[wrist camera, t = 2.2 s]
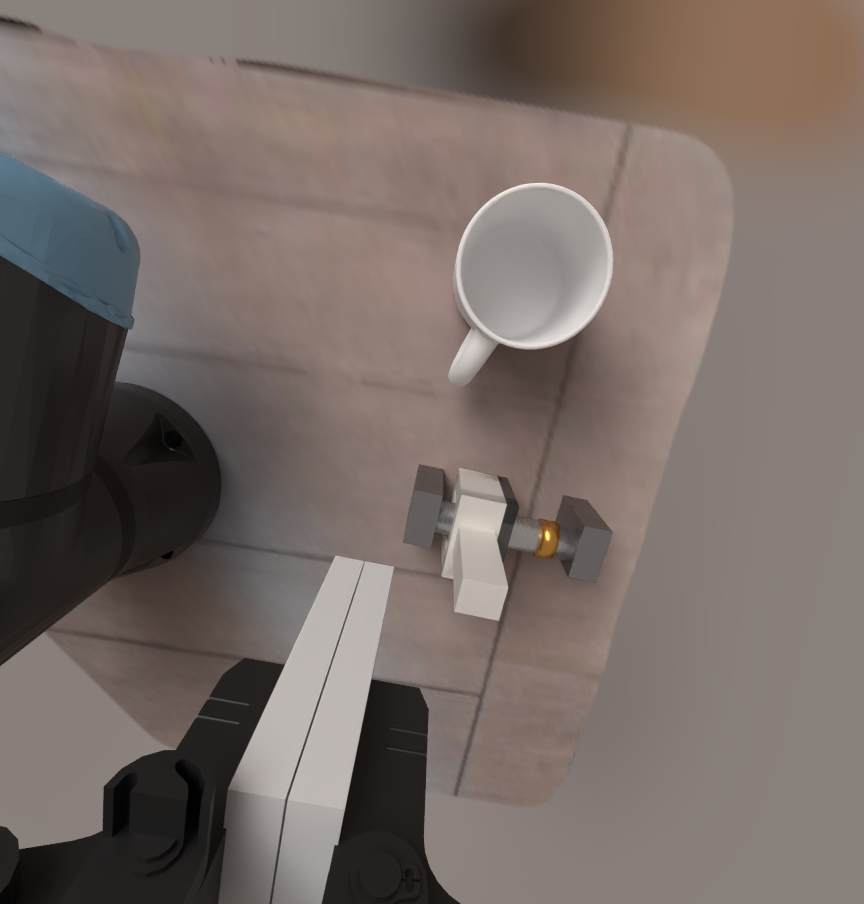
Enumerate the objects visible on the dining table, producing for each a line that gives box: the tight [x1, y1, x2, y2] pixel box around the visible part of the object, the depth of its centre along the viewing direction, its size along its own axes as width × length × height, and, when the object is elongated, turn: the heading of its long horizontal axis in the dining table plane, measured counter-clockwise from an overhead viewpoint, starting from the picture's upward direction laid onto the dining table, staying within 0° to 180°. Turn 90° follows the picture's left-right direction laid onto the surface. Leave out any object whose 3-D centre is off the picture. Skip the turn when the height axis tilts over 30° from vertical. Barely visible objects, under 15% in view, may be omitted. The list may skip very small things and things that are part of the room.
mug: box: [448, 183, 613, 387], centre depth 31 cm, size 12×8×10 cm
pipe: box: [403, 464, 613, 583], centre depth 37 cm, size 14×4×6 cm, turn 78°
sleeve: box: [441, 468, 519, 621], centre depth 32 cm, size 4×6×13 cm, turn 168°
